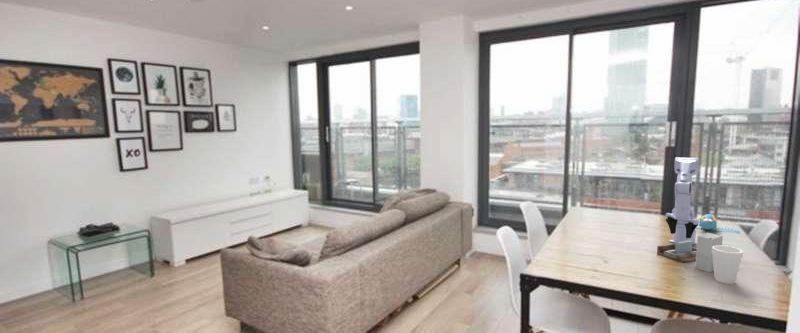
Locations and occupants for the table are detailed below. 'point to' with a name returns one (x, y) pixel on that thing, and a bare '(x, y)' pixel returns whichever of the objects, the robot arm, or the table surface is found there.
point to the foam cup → (726, 263)
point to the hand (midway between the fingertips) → (680, 235)
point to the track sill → (670, 253)
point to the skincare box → (706, 251)
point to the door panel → (683, 246)
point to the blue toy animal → (712, 224)
